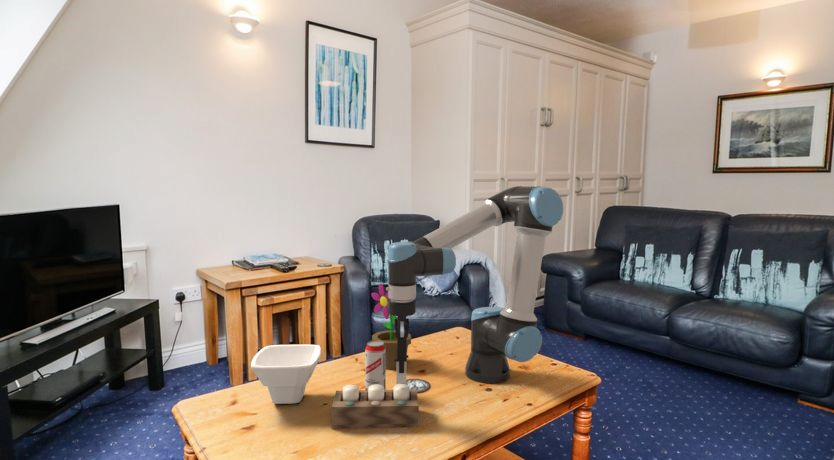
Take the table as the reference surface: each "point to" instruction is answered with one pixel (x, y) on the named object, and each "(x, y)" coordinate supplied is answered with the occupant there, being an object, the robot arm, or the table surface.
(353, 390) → the button
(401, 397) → the button
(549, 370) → the table surface
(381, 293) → the flowerpot
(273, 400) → the bowl
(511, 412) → the table surface
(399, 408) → the button board
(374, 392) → the button middle
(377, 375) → the beer can
